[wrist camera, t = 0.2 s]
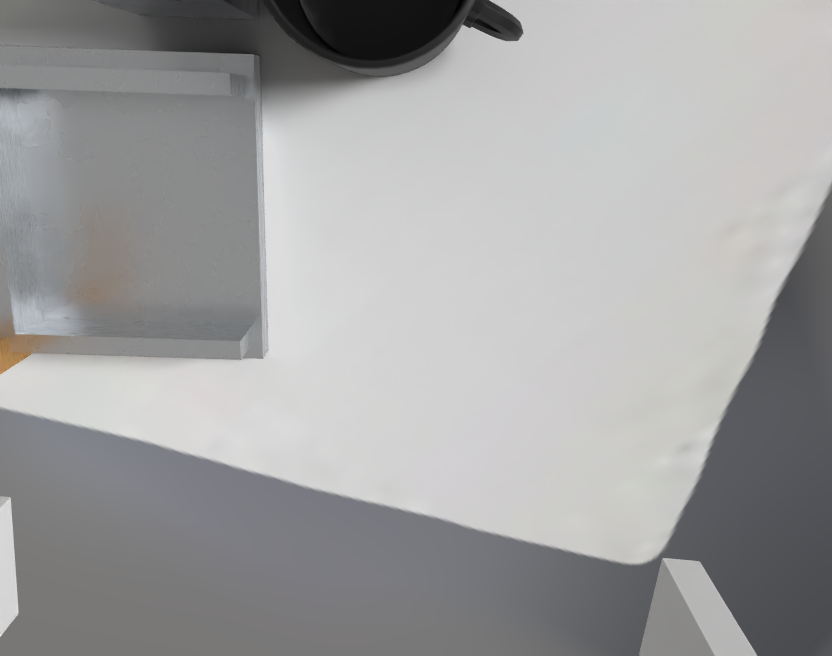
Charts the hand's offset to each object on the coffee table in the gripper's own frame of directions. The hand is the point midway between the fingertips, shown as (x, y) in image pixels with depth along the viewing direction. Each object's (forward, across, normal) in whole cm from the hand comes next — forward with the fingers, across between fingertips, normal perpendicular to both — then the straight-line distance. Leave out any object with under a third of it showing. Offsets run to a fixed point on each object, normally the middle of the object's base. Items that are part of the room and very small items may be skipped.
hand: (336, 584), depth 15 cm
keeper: (+27, -14, +2) cm, 31 cm away
